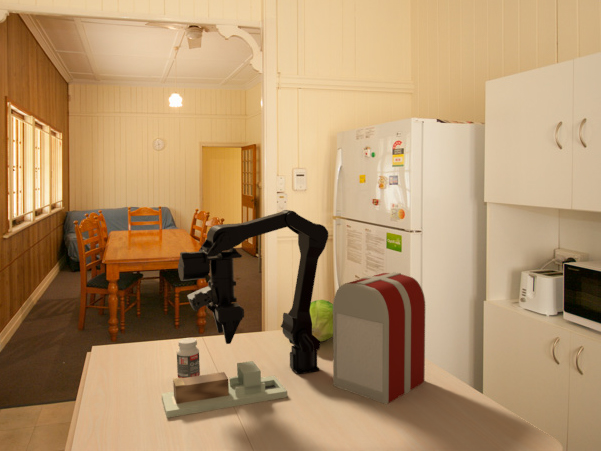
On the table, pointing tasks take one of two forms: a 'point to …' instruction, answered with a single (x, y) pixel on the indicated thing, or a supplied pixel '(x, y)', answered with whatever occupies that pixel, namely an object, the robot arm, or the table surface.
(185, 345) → the pill bottle
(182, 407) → the tunnel deck
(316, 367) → the robot arm
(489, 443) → the table surface
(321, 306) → the lettuce
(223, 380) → the brown rectangular block
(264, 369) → the table surface
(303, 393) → the table surface
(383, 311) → the red striped block
